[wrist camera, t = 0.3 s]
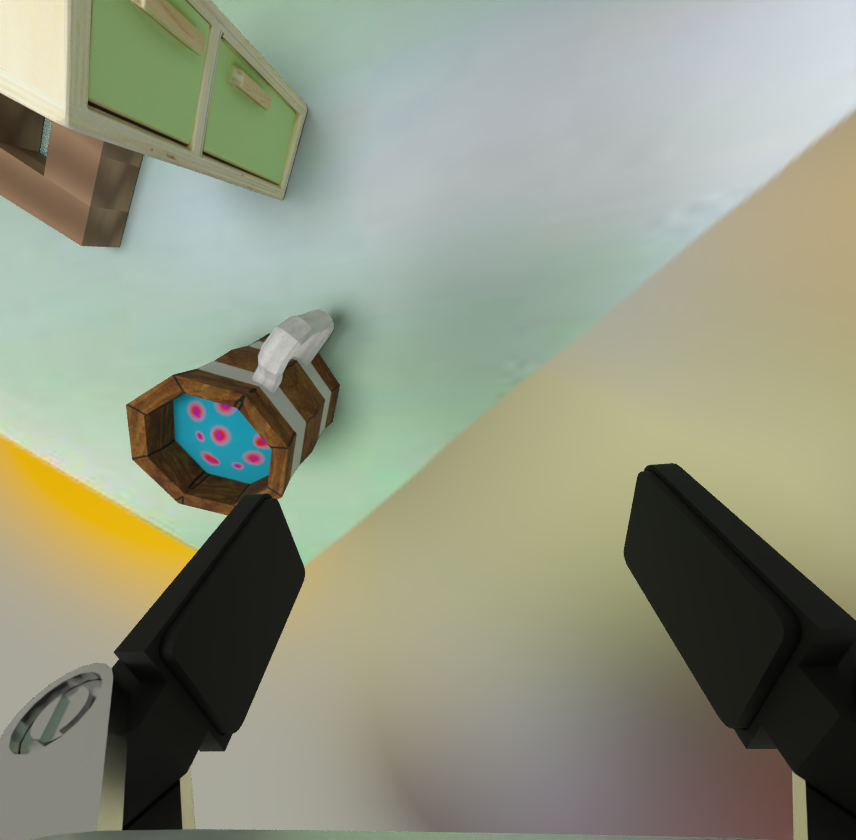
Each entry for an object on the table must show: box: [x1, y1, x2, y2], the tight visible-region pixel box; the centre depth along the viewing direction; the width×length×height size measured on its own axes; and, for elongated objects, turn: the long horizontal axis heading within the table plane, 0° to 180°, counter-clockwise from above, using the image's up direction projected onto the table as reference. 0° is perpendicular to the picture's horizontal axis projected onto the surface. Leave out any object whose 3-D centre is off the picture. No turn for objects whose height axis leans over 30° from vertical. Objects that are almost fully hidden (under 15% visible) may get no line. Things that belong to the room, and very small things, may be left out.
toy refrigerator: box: [0, 0, 307, 200], centre depth 21 cm, size 8×7×21 cm
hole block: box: [0, 93, 143, 247], centre depth 29 cm, size 12×12×4 cm
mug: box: [126, 310, 340, 515], centre depth 33 cm, size 20×14×15 cm
